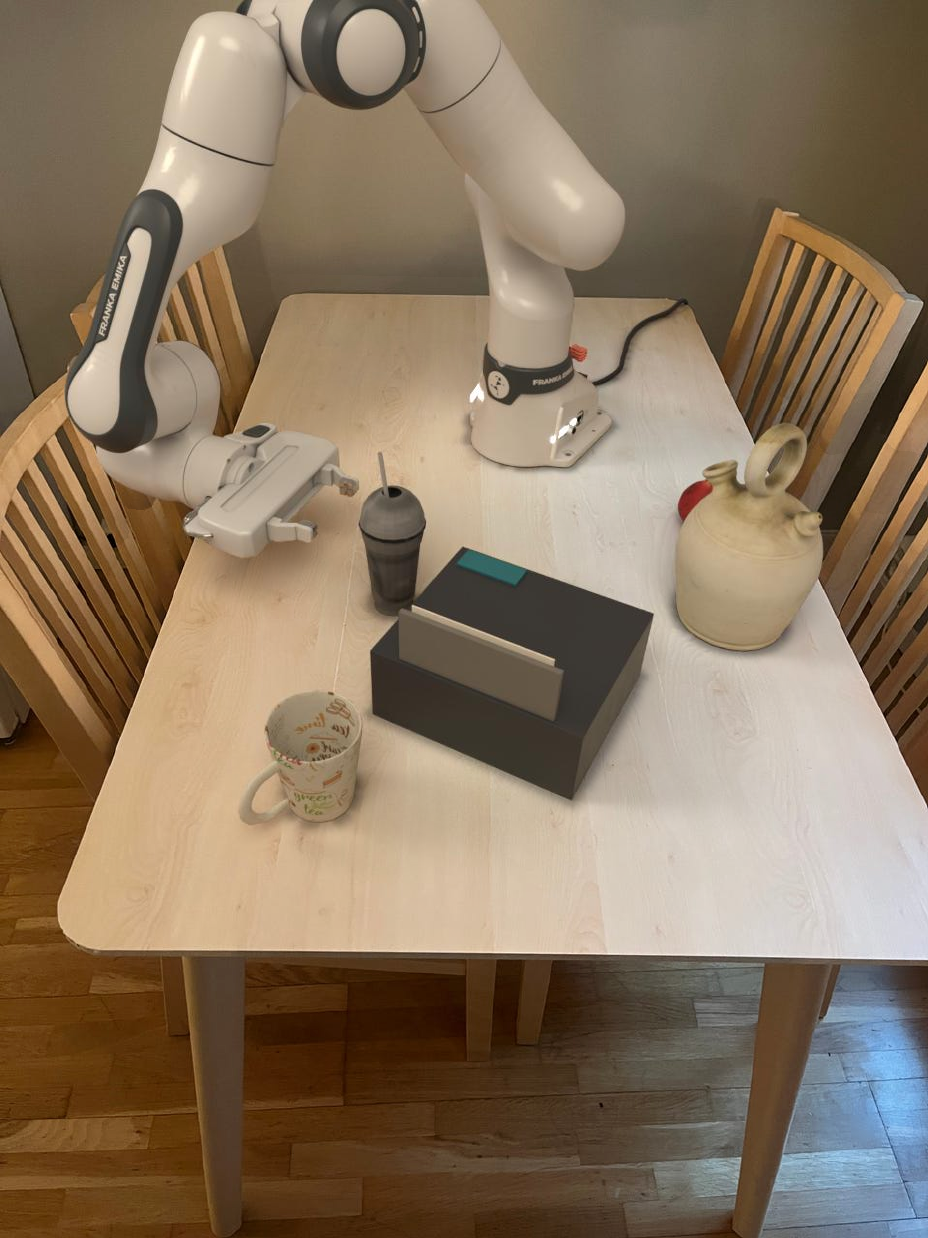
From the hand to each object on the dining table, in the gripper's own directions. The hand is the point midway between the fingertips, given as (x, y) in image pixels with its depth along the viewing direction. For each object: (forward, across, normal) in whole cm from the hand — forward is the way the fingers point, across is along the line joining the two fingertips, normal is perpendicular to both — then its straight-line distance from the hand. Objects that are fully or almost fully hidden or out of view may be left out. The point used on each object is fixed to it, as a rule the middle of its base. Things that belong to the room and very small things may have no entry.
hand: (336, 510), depth 102 cm
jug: (+43, +14, +11) cm, 47 cm away
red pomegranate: (+36, +30, +11) cm, 48 cm away
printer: (+24, -8, +11) cm, 28 cm away
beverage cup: (+7, 0, +11) cm, 13 cm away
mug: (+12, -30, +11) cm, 34 cm away
